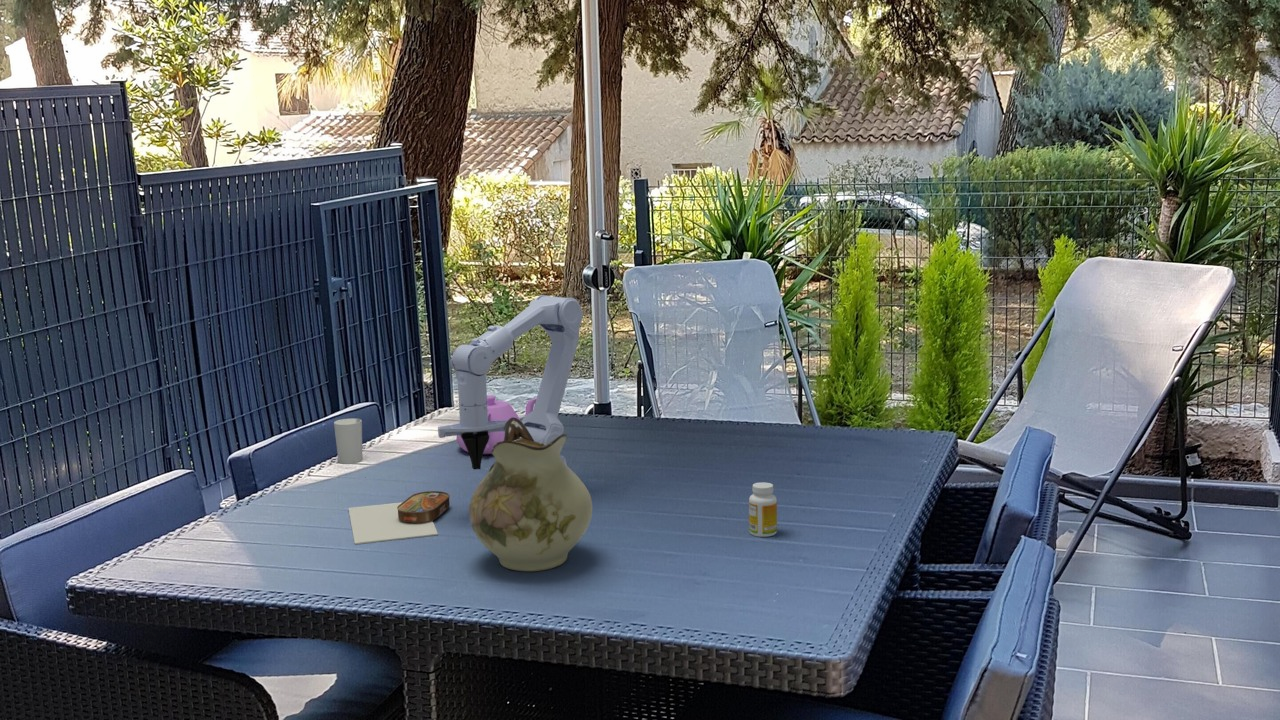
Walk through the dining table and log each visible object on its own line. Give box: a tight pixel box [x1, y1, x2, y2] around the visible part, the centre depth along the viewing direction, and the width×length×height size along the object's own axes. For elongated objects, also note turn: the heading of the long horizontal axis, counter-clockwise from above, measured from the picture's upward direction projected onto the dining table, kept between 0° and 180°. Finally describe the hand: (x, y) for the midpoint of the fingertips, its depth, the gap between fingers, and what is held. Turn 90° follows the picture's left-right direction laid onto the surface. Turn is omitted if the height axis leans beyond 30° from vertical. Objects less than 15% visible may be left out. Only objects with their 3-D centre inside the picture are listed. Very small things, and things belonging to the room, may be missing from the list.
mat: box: [348, 501, 439, 545], centre depth 238 cm, size 16×24×1 cm, turn 17°
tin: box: [397, 490, 450, 523], centre depth 242 cm, size 15×3×8 cm
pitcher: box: [468, 417, 593, 572], centre depth 212 cm, size 22×24×25 cm
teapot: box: [456, 394, 537, 455], centre depth 294 cm, size 22×22×14 cm
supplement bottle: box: [748, 481, 778, 538], centre depth 226 cm, size 5×5×10 cm
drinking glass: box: [333, 418, 363, 465], centre depth 286 cm, size 7×7×10 cm
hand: (476, 468), depth 239 cm, fingers closed
